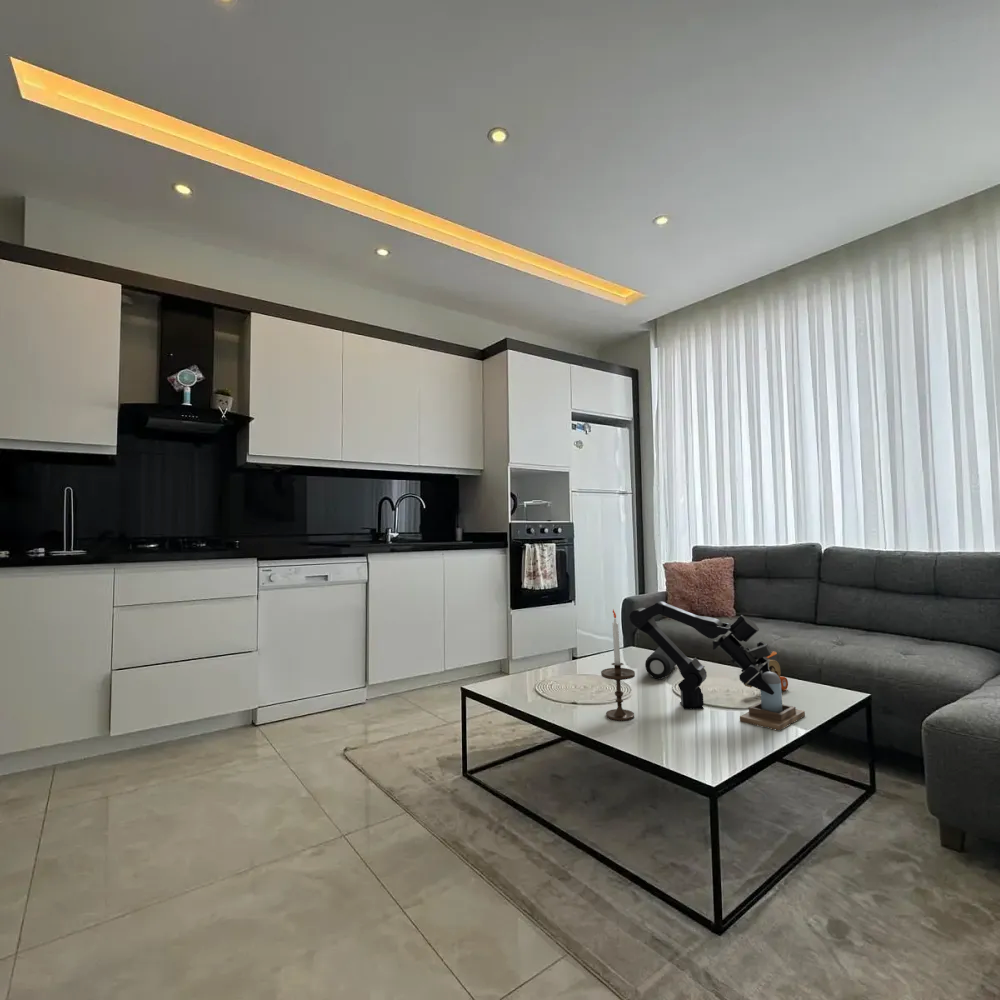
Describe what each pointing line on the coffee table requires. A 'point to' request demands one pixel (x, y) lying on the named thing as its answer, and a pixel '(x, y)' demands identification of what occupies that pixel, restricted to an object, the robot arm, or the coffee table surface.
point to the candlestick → (618, 679)
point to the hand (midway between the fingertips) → (775, 689)
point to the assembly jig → (771, 716)
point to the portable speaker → (659, 664)
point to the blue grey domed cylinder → (775, 700)
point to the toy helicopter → (775, 671)
